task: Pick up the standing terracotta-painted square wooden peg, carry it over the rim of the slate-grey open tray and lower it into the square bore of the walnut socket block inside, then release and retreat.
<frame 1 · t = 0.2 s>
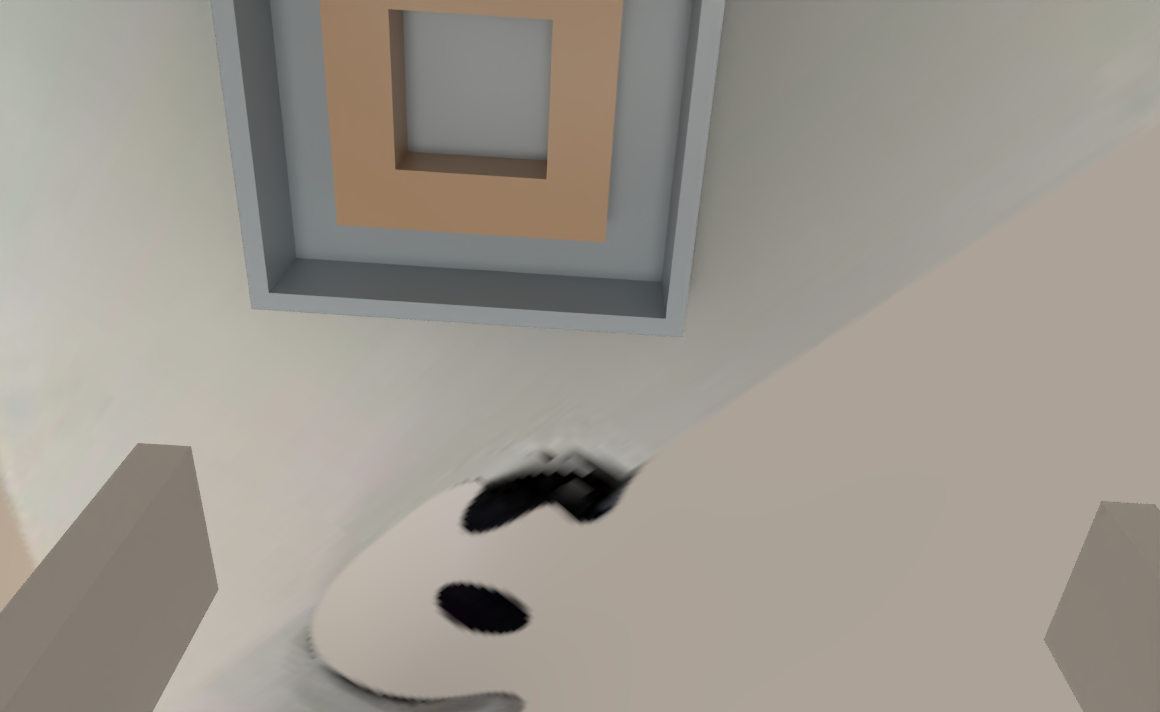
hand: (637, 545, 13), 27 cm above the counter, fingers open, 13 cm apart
tray box: (481, 79, 37), on the counter
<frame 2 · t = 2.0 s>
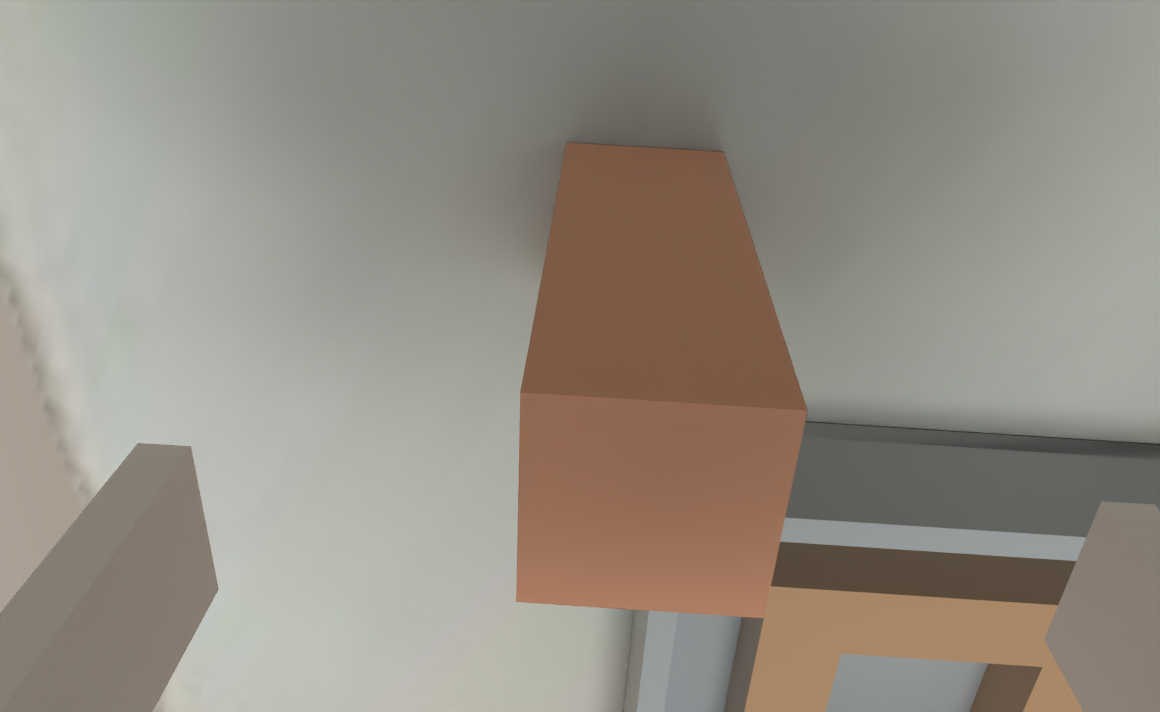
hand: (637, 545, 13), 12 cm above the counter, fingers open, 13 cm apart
peg: (638, 220, 24), on the counter
tray box: (891, 645, 31), on the counter
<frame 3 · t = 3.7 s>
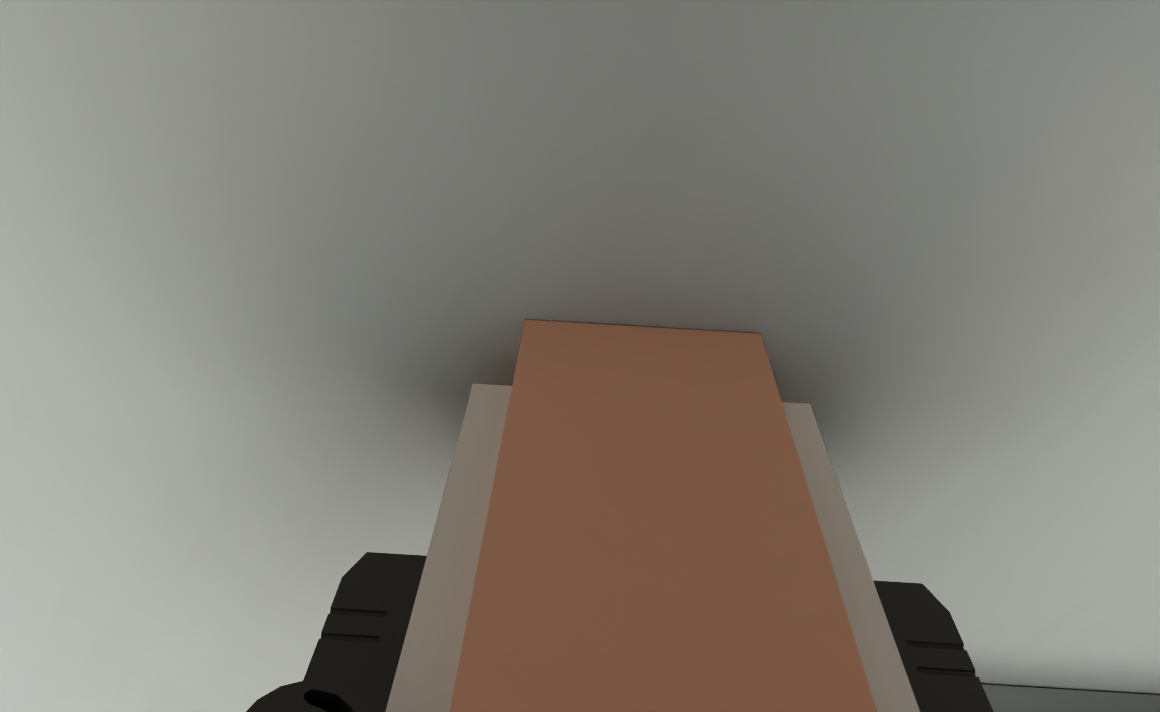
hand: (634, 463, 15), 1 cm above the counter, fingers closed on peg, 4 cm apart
peg: (633, 425, 16), on the counter, touching gripper
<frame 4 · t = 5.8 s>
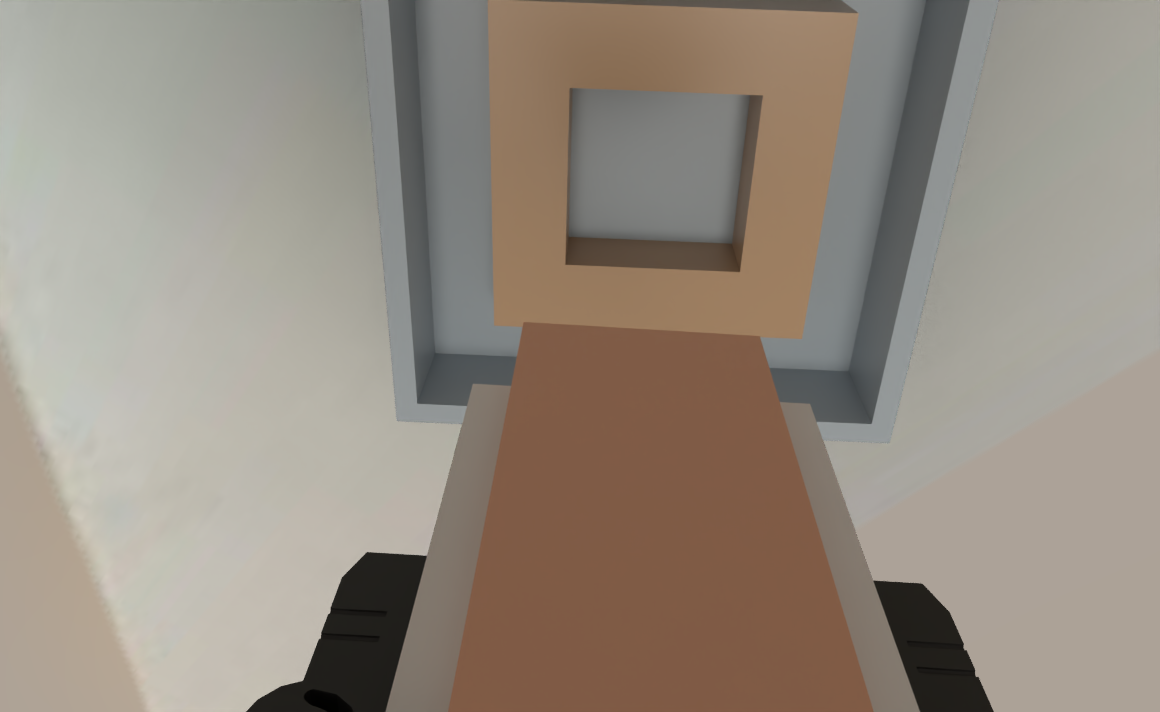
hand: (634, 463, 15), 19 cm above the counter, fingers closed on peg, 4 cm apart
peg: (632, 427, 16), point 18 cm above the counter, touching gripper
tray box: (655, 153, 32), on the counter
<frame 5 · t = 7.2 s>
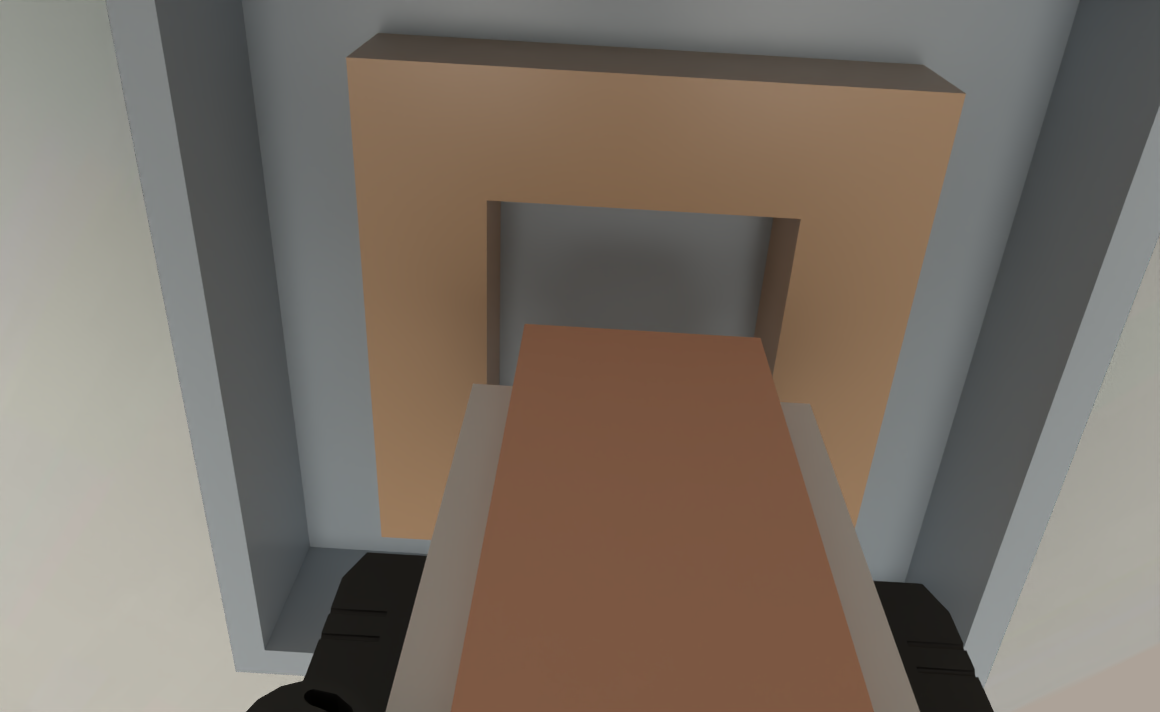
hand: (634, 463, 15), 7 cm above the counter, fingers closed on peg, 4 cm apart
peg: (633, 429, 16), point 6 cm above the counter, touching gripper
tray box: (629, 281, 22), on the counter
when the fingers open (4 cm above the counter, at t = 8.1 s): peg drops 2 cm, resting on tray box.
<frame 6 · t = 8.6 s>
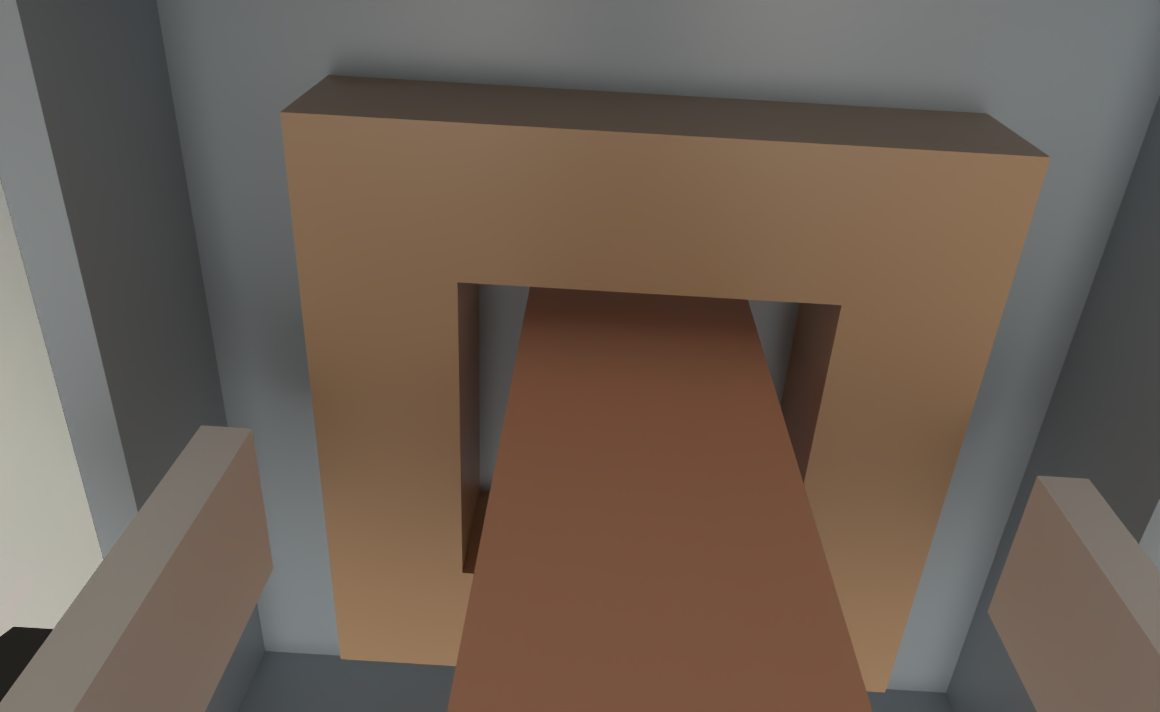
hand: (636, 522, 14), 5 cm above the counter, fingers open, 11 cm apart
peg: (630, 379, 18), point 1 cm above the counter, touching tray box
tray box: (630, 358, 18), on the counter
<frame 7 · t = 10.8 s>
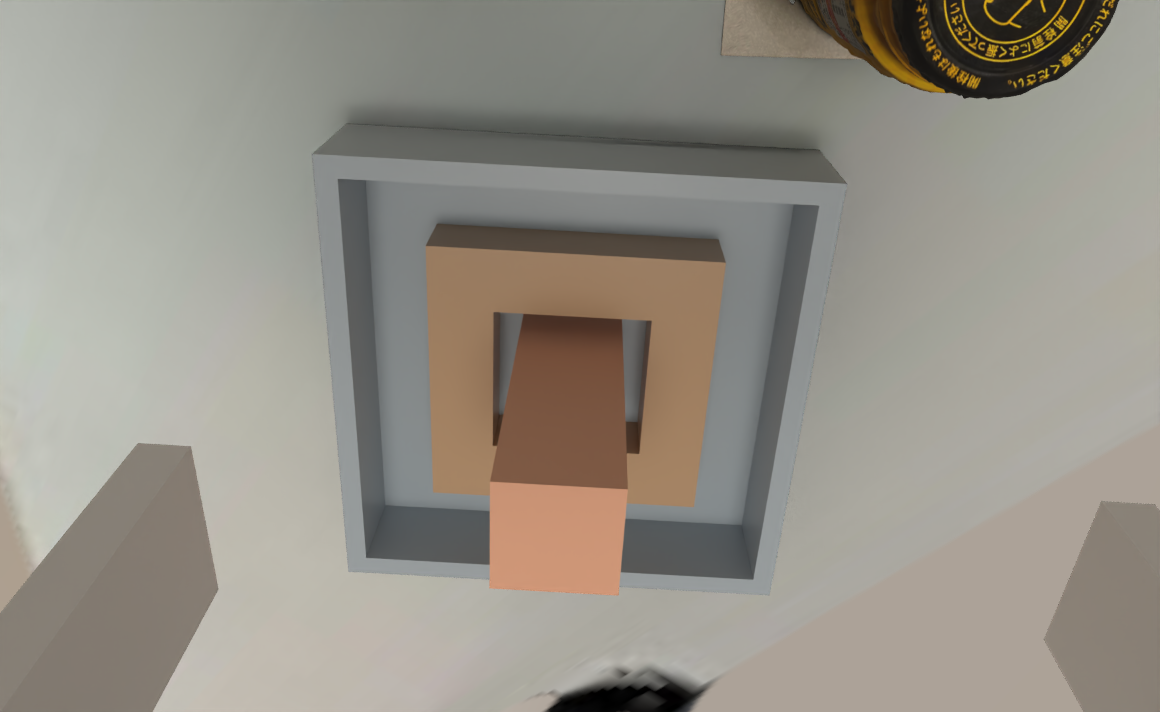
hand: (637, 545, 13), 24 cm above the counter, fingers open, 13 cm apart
peg: (570, 357, 38), point 1 cm above the counter, touching tray box
tray box: (572, 348, 38), on the counter
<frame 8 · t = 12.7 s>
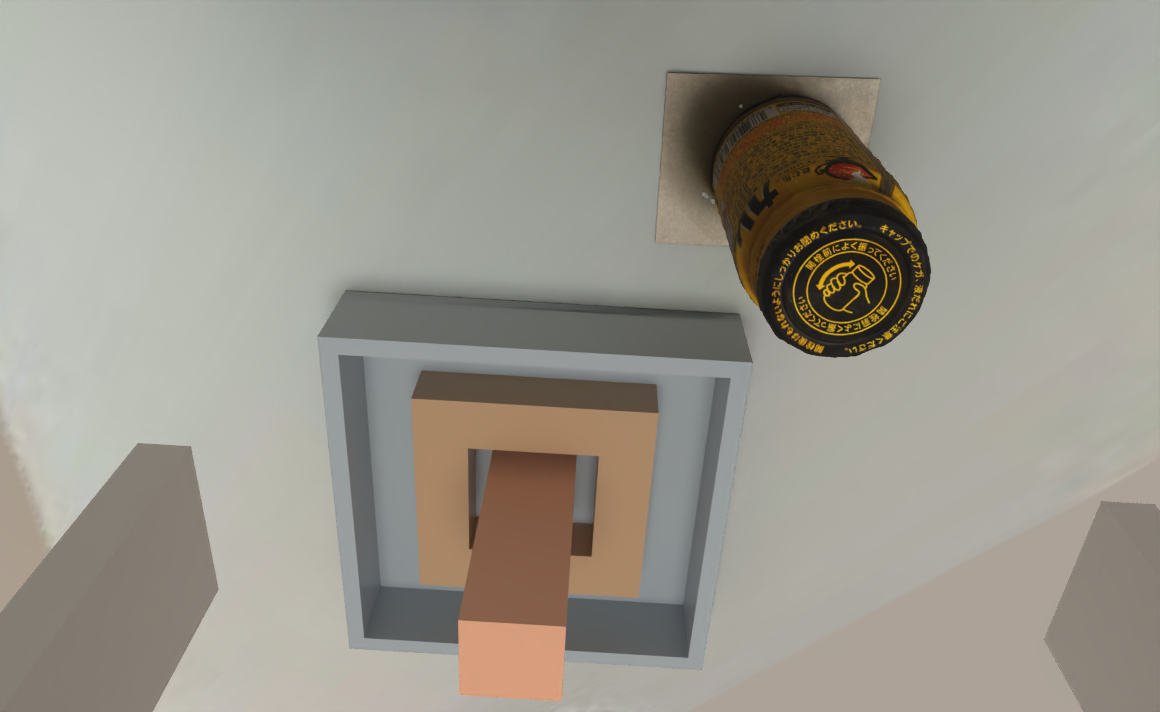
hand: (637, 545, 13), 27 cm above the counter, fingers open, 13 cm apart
peg: (535, 473, 45), point 1 cm above the counter, touching tray box
condiment: (761, 162, 38), on the counter
tray box: (537, 463, 46), on the counter
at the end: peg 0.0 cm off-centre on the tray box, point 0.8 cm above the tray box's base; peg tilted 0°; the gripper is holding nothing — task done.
